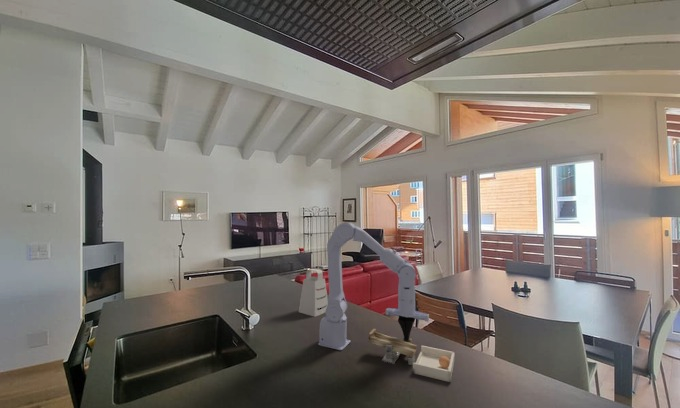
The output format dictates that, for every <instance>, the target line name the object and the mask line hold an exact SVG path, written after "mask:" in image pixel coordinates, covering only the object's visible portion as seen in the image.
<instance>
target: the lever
mask: <svg viewBox="0 0 680 408" xmlns="http://www.w3.org/2000/svg"><path fill="white" fill-rule="evenodd" d="M393 337H394V336H389V335H385V334H383V333H380V332H377V329H376V328H372V330H370V332H369V333H368V339H367V342H368V343H370V344H373V345H376V346H378V347H381V348H385V349H386V344H387V345H392V346H393V351H395V352H398V353H401V354H400V355H404V356H406V357H409V356H410V357H414V355H415V356H416V352H417V348H418V344H413V343H412V340H413V339H412V338H410V337H409V340H404V338H403V339H399V338H398V339H396V338H397V337H396V338H393Z"/></svg>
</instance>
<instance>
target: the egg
mask: <svg viewBox="0 0 680 408" xmlns="http://www.w3.org/2000/svg"><path fill="white" fill-rule="evenodd" d="M439 364H440V365H441V366H442V367H443V368H447V367H449V364H450V360H449V359H448V358H447V357H446V356H441V357H440V358H439Z"/></svg>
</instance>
